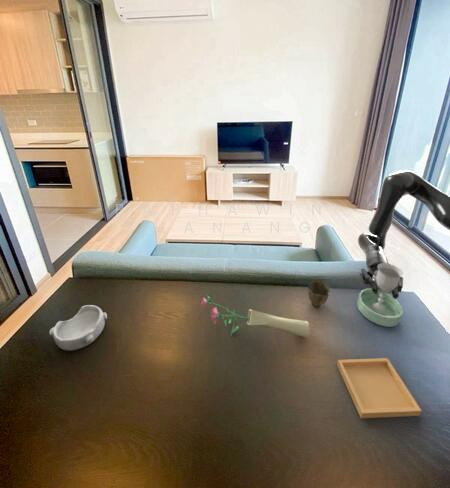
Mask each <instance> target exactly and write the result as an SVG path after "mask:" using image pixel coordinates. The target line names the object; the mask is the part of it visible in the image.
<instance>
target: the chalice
mask: <svg viewBox="0 0 450 488" xmlns="http://www.w3.org/2000/svg"><path fill="white" fill-rule="evenodd" d="M377 267H378V273H377V276H376V281H377V282H376V283H377V287H378V290H380V291H381V294H380V298H378V300H379V302H376V303H373V304H372V305H371V306H370V309H371V310H372V311H374V312H376V313H378V314H380V315H383V316H385V315H386V311H385V307H384V306H383V305H382V302H384V300H383V298H384V297H385V296H384V294H385V293H386V294H387V293H388V294H389V293H391V291H392V290H393V289H395V288H396V287H397V285H398V281H399V278H400V277H403V275H404V272H403V270H401V268H399V267H397V266H396V265H394V264H390V263H389V264H387V263H381V264H378V266H377Z"/></svg>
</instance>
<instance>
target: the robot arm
mask: <svg viewBox="0 0 450 488" xmlns="http://www.w3.org/2000/svg"><path fill="white" fill-rule="evenodd" d="M383 180H384V181H383V183H382V186H381V190H380V191H381V192H380V194H379V199H378V203H377V207H376V210H375V212H374V215H372V218H371V220H370V223H369V225H368V231H369V233H367V232H362V233H360V235H358V237H357V243H358V246H359V248H360V249H361V251H362V252H363V253H364V255H365V264H366V268H367V269H365V268H363V267H361V268H360V270H359V275H360V277H361V279H362V281H363V283H364V284H365V285H370V288H372V291H373V292H374V294H377V292H378V290H379V288H378V285H377V281H376V276H377V273H378V267H377V266H378V264H381V263H387V264H390V263H389V261H388V257H386V254H385V251H384V250H385V248H386V238H387V233H388V231H389V230H390V228H391V226H392V225H393V221H394V216H395V215H394V211H395V208H396V206H397V204H398V203H399V202H400V200H401V199H402V198H403V197H404V196H407V195H409V196H410V197H412V198H414V199H416V200H417V201H419V202H420V203H422V204H423V205H424V206H425V207H426V209H428V210H429V212H430V213H431V215H432V216H433V218H434V219H435V220H436V221H437V222H438V223H439V224H440V225H441V226H443V227H444V228H446V229H447V230H448V231H450V195H449V194H447V193H445V192H443V191H442V190H440V189H438V188H437V187H435V186H434V185H432V184H431V183H430V182H429V181H427V180H426V179H424V178H423V177H422V176H420V175H419V174H417V173H415V172H414V171H411V170H407V169H405V170H404V169H403V170H399V171H396V172H393V173H390V174H388V175H387V176H385V178H384V179H383ZM403 288H404V277H403V276H401V277H400V278H399V281H398V285H397V287H396V288H395V289H393V290H392V291H390V293H391V296H393V298H394V299H396V300H397V298H399V295H400V293H401V292H402V290H403Z"/></svg>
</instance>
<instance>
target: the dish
mask: <svg viewBox="0 0 450 488" xmlns="http://www.w3.org/2000/svg"><path fill="white" fill-rule="evenodd" d="M107 319H108V313H107V312H103V310H102V309H101V308H100V307H99V306H97V305H94V304H87V305H83V306H81V307H80V309H79V310H78V312H77V313H76V314H75V315H74V316H73V317H72V318H70V319H68V320H59V321H57V322H56V324H55V326H53V327H52V328H50V330H49V336H50V337H53V340H54V342H55V345H56V346H58V348H59V349H60V350H64V351H75V350H79V349H82V348H84V347H86V346H88V345H90V344H92V343H93V342H94V341H95V340H96V339H98V337H99V336H100V335H101V334H102V331H103V330H104V328H105V324H106V320H107Z"/></svg>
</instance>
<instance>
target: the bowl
mask: <svg viewBox="0 0 450 488" xmlns="http://www.w3.org/2000/svg"><path fill="white" fill-rule="evenodd" d="M380 294H381V291H380V290H379V289H378V292H377V294H374V292H373V291H372V288H371V287H368V288H367V287H366V288H365V289H362V290H361V291H359V295H358V297H357V298H358V299H357V303H356V305H357V309H358V310H359V312H360V313H361V314H362V316H364V317H365V318H366V319H367V320H369V321H370V322H371V323H374V324H376V325H379V326H382V327H386V328H388V327H392V328H393V327H395V326H398V325H399V323H400V322H401V319H402V316H403V314H404V308H403V307H402V304H401V303H400V302H399V301H398V299H397V298H396V299H394V298H393V296H392V294H389V293H387V294H386V293H385V294H384V296H385V297H384V298H383V300H384V302H382V305H383V306H384V307H385V311H386V315H385V316H383V315H380V314H378V313H376V312H374V311H372V310H371V309H370V306H371V305H372V304H373V303H376V302H379V300H378V298H380Z"/></svg>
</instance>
